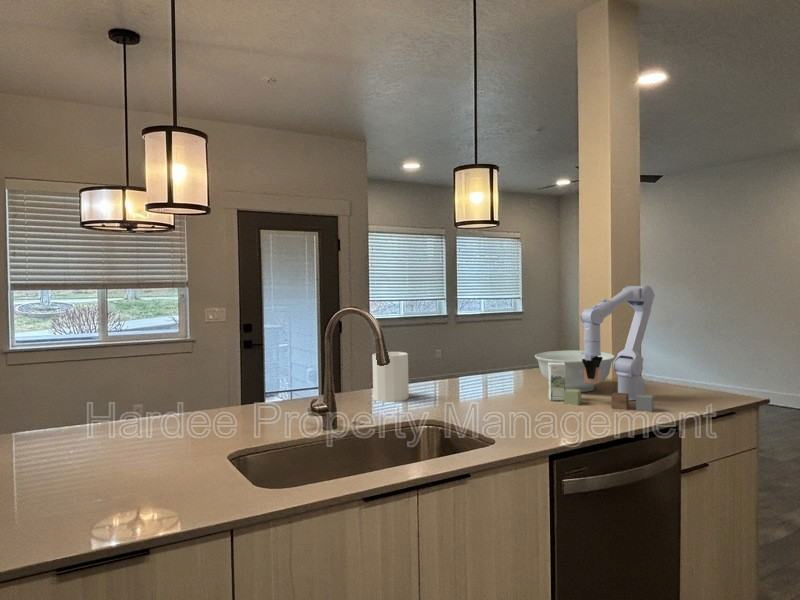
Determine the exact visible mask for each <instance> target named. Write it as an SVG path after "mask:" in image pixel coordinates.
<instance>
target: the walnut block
mask: <svg viewBox="0 0 800 600" xmlns="http://www.w3.org/2000/svg"><path fill="white" fill-rule="evenodd" d="M610 396H611V397H610V398H611V409H614V410H622V409H623V410H622V411H626V410H628V409H629V406H630V405H629V404H630V403H629V402H630V401H629V394H628V393H618V392H615V391H614V392H613V393H612V394H611V395H610ZM627 408H628V409H627Z"/></svg>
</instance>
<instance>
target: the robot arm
mask: <svg viewBox="0 0 800 600" xmlns="http://www.w3.org/2000/svg"><path fill="white" fill-rule="evenodd" d="M655 297H656V295H655V292H654V290H653V288H652V287H651V286H650V285H627V286H626V287H623V288H622V290H621V291H620V292H618V293H617V294H616V295H614V296H613V297H611V298H610V299H608V298H602V299H600V301H599V302H598V303H597V304H593V305H592V307H591V308H585V309H583V310H582V312H581V314H580V316H579V319H580V322H581V323H582V329H583V348H584V349H583V351H584V352H581V354H583V355H585V359H582V362H583V364H584V366H585V369H586V373H587V377H588V379H594V377H595V370H596V367H598V368H599V366H600V363H601V361H602V359H603V357H598V356H600V355H601V353H600V352H601V325H602V323H604V319H606V318H607V317H608V316H610V315H611V314H613V313H614V312H615V311H616V308H617V307H618V306H620V305H622V304H624V303H627V304H628V305H629V306H630V307H631V308H632V309H633V310H634V314H633V318H632V321H631V325H630V328H629V332H628V335H627V339H626V341H625V346H624V349H622V350H620V351H619V352H618V353H617V356H615V359H614V360H613V361H612V362H613V363H612V368H613V371H614V372H615V373H616V375H617V393H628V394H629V402H630V401H636V396H637V395H638V394H641V395H646V394H645V391H646V390H645V389H646V387H645V379H644V378H643V376H641V374H642V372H643V369H644V367H643V366H644V365H643V364H644V357H642V355H641V354H640V351H641V346H642V343H643V340H644V337H645V334H646V330H647V326H648V322H649V319H650V315H651V311H652V306H653V303H654V300H655V299H654V298H655Z"/></svg>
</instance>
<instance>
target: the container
mask: <svg viewBox="0 0 800 600" xmlns="http://www.w3.org/2000/svg"><path fill="white" fill-rule="evenodd" d="M387 352H388V355H389V359H390V363H389V364H388V365H384V366H379V365H377V360H376V353H377V352H375V353H372V354H371V355H372V387H373V388H372V390H373V391H372V392H373V393H372V394H373V395H372V396H373V397H372V398H373V400H374V401H377V402H387V403H389V402H392V403H393V402H394V403H395V402H402V401H403V402H404V401H405V400H408V399H409V398H410V396H409V395H410V394H409V388H410V387H409V353H407V352H404V351H387Z"/></svg>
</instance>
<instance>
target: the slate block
mask: <svg viewBox="0 0 800 600" xmlns="http://www.w3.org/2000/svg"><path fill="white" fill-rule="evenodd" d="M635 404H636V405H635V410H637V411H636V412H644V411H647V412H646V413H653V411H654V395H652V394H645V395H641V394H638V395H637V396H636V400H635Z"/></svg>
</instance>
